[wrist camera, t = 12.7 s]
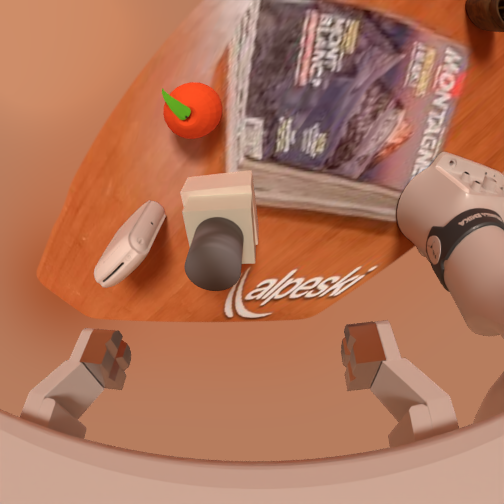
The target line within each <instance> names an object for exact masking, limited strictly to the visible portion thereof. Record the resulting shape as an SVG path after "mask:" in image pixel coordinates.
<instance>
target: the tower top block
mask: <svg viewBox="0 0 504 504" xmlns="http://www.w3.org/2000/svg"><path fill="white" fill-rule="evenodd" d="M182 213H183V218H184V223H185V227H186V232H187V237H188V241H189V246H191V243H192V240H193V237H194V234H195V231H196V228H197V227H198V225H199V224H200V223H201V222H202V221H204V220H206V219H208V218H212V217H222V218H226V219H229V220H231V221H233V222H234V223H236V224H237V225H238V226H239V227H240V229H241V230H242V233H243V236H244V242H243V253H242V264H254V263H255V254H256V242H255V228H254V214H253V201H252V193H236V194H218V195H203V196H190V197H189V198H188V200H187V202H186V205H185V207H184V209H183V212H182Z"/></svg>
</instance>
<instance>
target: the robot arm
mask: <svg viewBox="0 0 504 504" xmlns="http://www.w3.org/2000/svg"><path fill="white" fill-rule="evenodd" d="M450 161H452V162H451V163H450ZM449 163H450V164H449ZM397 221H398V225H399V228H400V230H401V232H402V233H403V234H404V235H405V236H406V237H407V238H408V239H409V240H410V241H411V242H413V243H414V244H415V245H416V247H417V249H418V250H419V252H420V254H421V255H422V256H424V257H426V258H427V259H428V261H429V262H430V263H431V266H432V268H433V270H434V272H435V274H436V275H437V277H438V279H439V280H440V283H441V284H442V285H443V286H444V288H445V289H446V290H447V291H449V292H450V293H451V295H452V297H453V299H454V301H455V303H456V305H457V307H458V308H459V310H460V312H461V314H462V316H463V318H464V320H465V322H466V324H467V326H468V327H469V328H470V329H471V330H472V331H473V332H474V333H476V334H479V335H483V336H496V335H501V336H502V337H503V338H504V176H503V174H502V173H501V172H499V171H497V170H494V169H492V168H489V167H487V166H484V165H481V164H479V163H476V162H473V161H471V160H468V159H465V158H462V157H459V156H456V155H454V154H451V153H448V152H442V153H440V154H439V155H438V156H437V158H436V159H435V160H434V161H433V163H432V164H431V166H429V167H428V168H427V169H425V170H424V171H422V172H421V173H419V174H418V175H417V176H415V177H414V178H413V179H412V180H411V181H410V182H409V184H408V185H407V186H406V188H405V189H404V191H403V193H402V195H401V197H400V200H399V203H398V208H397ZM344 333H345V338H344V339H343V340H342V345H341V349H342V350H341V354H342V362H343V365H344V366H345V367H346V368H347V369H346V372H345V379H346V385H347V390H348V391H351V390H361V389H369V388H371V391H372V392H373V393H374V394H375V395H376V397H377V398H378V399H379V400H380V401H381V402H382V403H383V405H384V406H385V407H386V408H387V409H388V410H389V412H390V413H391V414H392V415H393V416H394V417H395V418H396V419H397V421H398V422H399V423H398V424H397V426H396V427H395V428H394V429H393V430H392V432H391V433H390V434H389V435H388V438H389V444H390V448H385V449H380V450H375V451H369V452H363V453H357V454H350V455H343V456H335V457H326V458H317V459H306V460H290V461H220V460H204V459H193V458H183V457H174V456H166V455H159V454H153V453H146V452H140V451H135V450H129V449H124V448H120V447H115V446H110V445H106V444H102V443H98V442H93V441H90V440H86V439H84V437H85V432H86V427H85V426H84V425H83V424H82V423H81V422H79V421H78V419H79V417H80V416H81V415H82V414H83V413H84V412H85V411H86V410H87V408H88V407H89V406H90V405H91V404H92V403H93V401H94V400H95V399H96V398H97V397H98V396H99V394H100V393H101V392H102V391H103V390H104V388H108V389H118V390H122V388H123V385H124V381H125V378H126V374H125V372H124V371H125V369H126V368H128V367H129V365H130V361H131V351H130V348H129V346H128V344H127V343H126V342H124V341H123V340H122V334H121V333H120V332H119V331H115V330H103V329H91V328H85V329H84V330H83V331H82V332H81V334H80V337H79V339H78V341H77V343H76V345H75V348H74V350H73V352H72V355H71V357H70V359H69V361H67V360H66V361H65V362H64V363H63V364H61V365H60V366H59V367H58V368H57V369H55V370H54V371H53V372H52V373H51V374H50V375H48V376H47V377H46V378H45V379H44V380H43V381H42V382H40V383H39V384H38V385H37V386H36V387H35V388H33V389H32V390H31V391H30V393H29V395H28V397H27V400H26V403H25V405H24V408H23V410H22V413H21V416H20V417H18V416H15V415H12V414H10V413H8V412H6V411H3V410H1V409H0V504H504V372H503V373H502V375H501V376H500V377H499V378H498V380H497V381H496V382H495V383H494V385H493V386H492V387H491V388H490V390H489V391H488V393H487V395H486V397H485V398H484V400H483V402H482V404H481V406H480V408H479V410H478V412H477V414H476V417H475V419H474V423H473V424H471V425H468V426H465V427H462V428H459V426H458V423H457V419H456V415H455V412H454V409H453V405H452V402H451V399H450V396H449V395H448V394H447V393H445V392H444V391H443V390H442V389H441V388H440V387H439V386H438V385H436V384H435V383H434V382H433V381H432V380H431V379H429V378H428V377H427V376H426V375H425V374H424V373H423V372H421V371H420V370H419V369H418V368H417V367H415V366H414V365H413V364H412V363H411V362H410V361H409V360H407V359H406V358H401V355H400V352H399V349H398V346H397V343H396V340H395V337H394V334H393V331H392V328H391V325H390V322H389V321H388V320H385V321H377V322H366V323H357V324H349V325H346V326H345V330H344Z"/></svg>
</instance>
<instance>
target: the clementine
mask: <svg viewBox="0 0 504 504" xmlns="http://www.w3.org/2000/svg"><path fill="white" fill-rule="evenodd" d="M162 94H163V97H164V99H165V101H166V102H165V105H164V118H165V122H166V123H167V125H168V127H169V128H170V129H171V130H172V131H173V132H174V133H175V134H177V135H178V136H181V137H184V138H190V139H195V138H200V137H203V136H205V135H207V134H209V133H210V132H211V131H212V130H214V129H215V128H216V126H217V125H218V123H219V121H220V119H221V116H222V104H221V100H220V98H219V96H218V94H217V93H216V92H215V91H214V90H213V89H212V88H211V87H209V86H207V85H205V84H201V83H187V84H183V85H181V86H179V87H177V88H176V89H175V90H174V91H172V92H171V94H170V95H169V94H167V93H166V92H165V91H164V90H163V88H162Z"/></svg>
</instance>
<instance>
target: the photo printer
mask: <svg viewBox="0 0 504 504" xmlns="http://www.w3.org/2000/svg"><path fill="white" fill-rule="evenodd" d="M165 217H166V215H165V212H164V209H163V207H162V206H161V205H160V204H159V203H157V202H155V201H150V200H149V201H148V202H146V203H145V204H143V205H142V206H141V207H140V208H139V209H138V210H137V211H136V212H135V213H134V214H133V215H132V216H131V217H130V218H129V219H128V220H127V221H126V222H125V223H124V224H123V225H122V226H121V228H120V229H119V230H118V231H117V233H116V234H115V236H114V237H113V239H112V240H111V242H110V243H109V245H108V247H107V248H106V250H105V252H104V253H103V255H102V257H101V258H100V260H99V262H98V263H97V265H96V267H95V270H94V277H95V280H96V282H98V283H100V284H101V285H102V287H105V288H107V287H111V286H114V285H116V284H118V283H119V282H121V281H122V280H124V279H125V278H126V277H127V276H128V275H129V274H131V273H132V272H133V271H134V270H135V269H136V268H137V267H138V266H139V265H140V264H141V263H142V261H143V260H144V259H145V257H146V256H147V254H148V253H149V251H150V248H151V246H152V244H153V242H154V240H155V238H156V236H157V234H158V231H159V229H160V227H161V225H162V223H163V221H164V219H165Z"/></svg>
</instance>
